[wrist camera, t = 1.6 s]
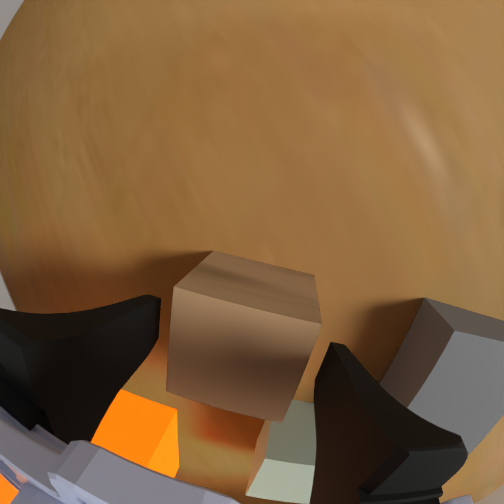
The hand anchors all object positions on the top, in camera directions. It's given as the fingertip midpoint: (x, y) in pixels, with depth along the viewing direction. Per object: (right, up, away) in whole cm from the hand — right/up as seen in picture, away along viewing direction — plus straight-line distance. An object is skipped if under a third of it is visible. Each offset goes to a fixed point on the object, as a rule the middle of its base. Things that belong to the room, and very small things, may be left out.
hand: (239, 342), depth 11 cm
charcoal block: (+13, -4, +3) cm, 14 cm away
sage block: (+4, -8, +5) cm, 10 cm away
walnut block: (+1, +1, +3) cm, 4 cm away
